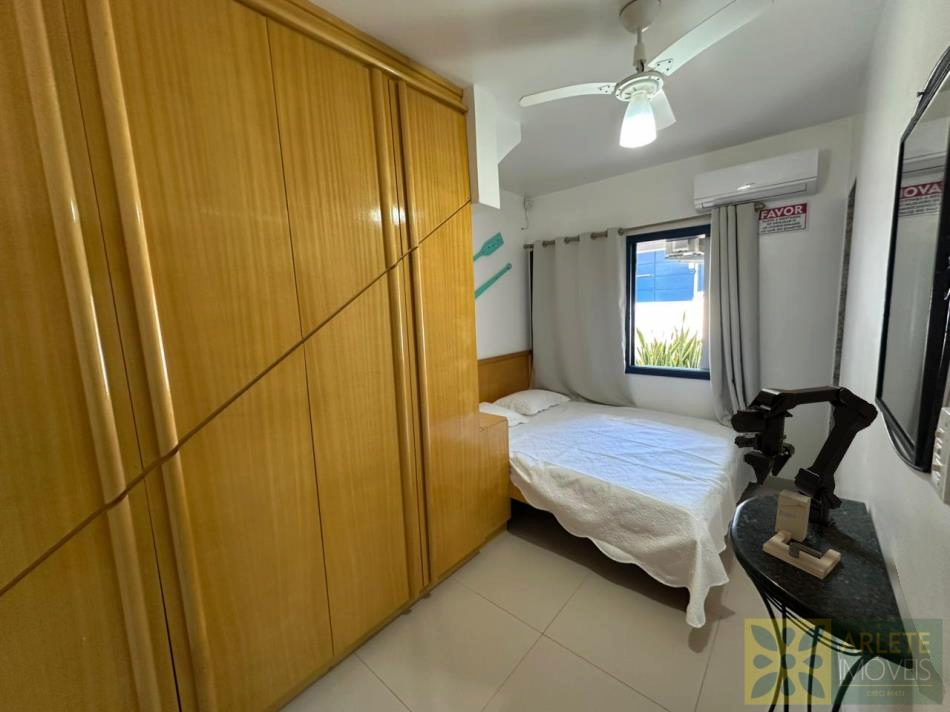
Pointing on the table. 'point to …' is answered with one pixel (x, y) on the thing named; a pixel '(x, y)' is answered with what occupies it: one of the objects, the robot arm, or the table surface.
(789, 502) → the skincare box
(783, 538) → the beige c-shaped bracket
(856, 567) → the table surface
